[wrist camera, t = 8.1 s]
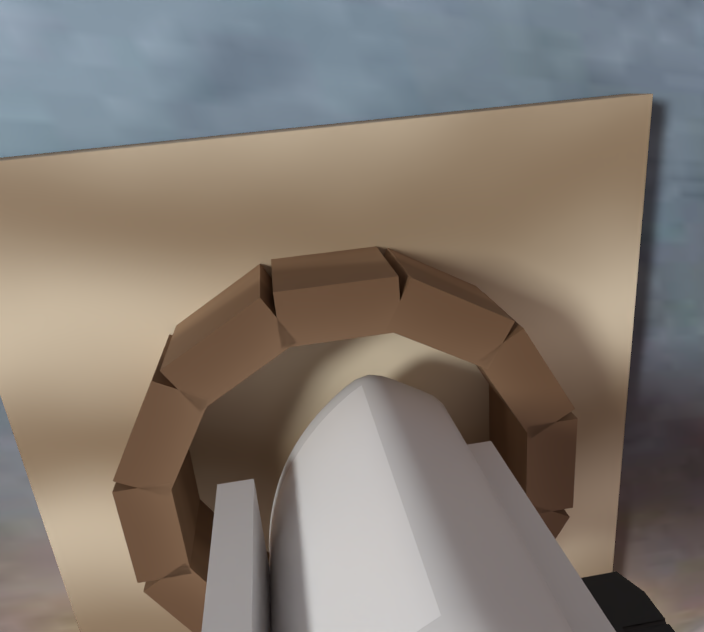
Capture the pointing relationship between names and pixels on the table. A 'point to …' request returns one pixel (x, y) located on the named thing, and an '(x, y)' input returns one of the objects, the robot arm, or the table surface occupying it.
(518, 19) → the table surface
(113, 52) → the table surface
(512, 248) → the ring collar
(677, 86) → the table surface
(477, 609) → the eye dropper bottle
